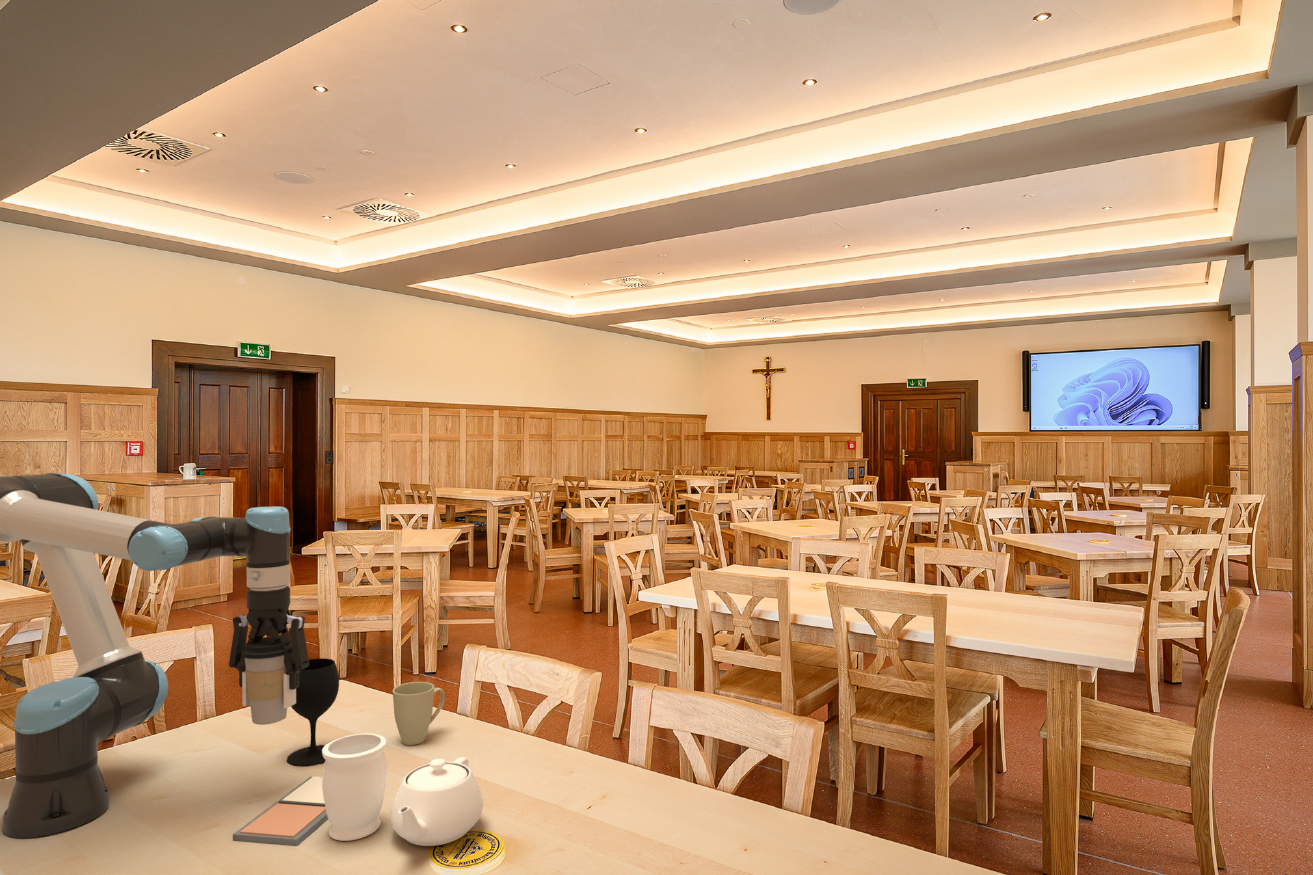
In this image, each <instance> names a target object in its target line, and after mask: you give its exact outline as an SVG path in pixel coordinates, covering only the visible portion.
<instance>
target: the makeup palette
mask: <svg viewBox="0 0 1313 875" xmlns="http://www.w3.org/2000/svg"><path fill="white" fill-rule="evenodd" d="M322 777H323V776H309V777H308V778H306V779H304V781H302V782H301V783H300V784H298V785H297V786H296V787H294V788H293V789H291V790H290V791H289V792H287V793H286V794H285V795H284V796H282V797H281V798H279V799H278V800H277V801H275V802H274V803H273V804H271V805H270V806H269V807H268V808H266V809H264V810H263V811H262V812H261V813H260V814H258V815H257V816H255V817H254V818H253V819H251V820H250V821H249V822H247V823H245V825H243V826H242V827H240V828H239V829H238V830H237V831H235V832H234V833H232V841H239V842H250V843H262V844H275V845H287V846H297V847H298V845H300V844H301V843H302V842H304V841H305V840H306V838H308V837H309V836H310V835H311V834H312V833H313V832H314V831H316V830H317V829H318V828H319V827H321V825H322V824H324V823H325V822H326V821H327V820H329V819H328V817H327V813H326V809H325V801H324V797H323V790H322Z"/></svg>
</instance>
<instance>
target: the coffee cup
mask: <svg viewBox="0 0 1313 875" xmlns="http://www.w3.org/2000/svg"><path fill="white" fill-rule="evenodd" d="M289 638H290V640H291V637H289ZM291 643H292V640H291ZM289 644H290V641H288V642H286V643H284V645H286V646H287V645H289ZM286 652H287V653H288V654H289V653H292V652H293V647H291V648H288V649H286V650H283V644H278V645H277V644H276V642H275V641H273V639H272V637H269V636H264V637H263V638H262V640H261V641H258V642H256V643H253V644H251V643H247V642H246V645H245V648H244V649H243V650H242V654H241V656H242V657H243V658H245V665H246V668H245V673H246V681H247V690H248V697H249V699H250V704H249V707H250V713H251V721H252V723H253V724H254V725H260V726H263V725H271V724H276V723H279V722H281V721H283V720H285V719H286V718H287V711H288V708H284V681H283V674H285V673H286V672H287V669H286V667H285V664H284V655H286Z"/></svg>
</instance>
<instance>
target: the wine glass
mask: <svg viewBox="0 0 1313 875" xmlns="http://www.w3.org/2000/svg"><path fill="white" fill-rule="evenodd" d="M339 690H340V677H339V671H338V667H337V664H336V661H335V660H334V659H330V658H311V659H309V666H308V667H306V668H304V669H302V670H300V672H299V687H298V688H296V704H294V705H292V706H290V707H291V709H292V710H293V711H294V712H295V713H296V714H298V715H299V716H301V717H302V718H304V719H306V720H308V722H309V726H310V727H309V728H310V744H309V746H306V747H302V748H299V749H297V750H295V751H293V752H291V753H290V754H288V755H287V757H286V763H287V764H289V765H290V766H293V767H303V768H304V767H315V766H318V765H322V764H325V761H326V760H325V759H324V757H323V755H322V749H323V747H324V746H325V745H326V744H317V740H316V738H317V737H316V733H317V732H316V730H317V722H318V719H319V718H320V717H321V716H323V715H324V714H325V713H326V712H328V710H329V709H330V708H331V707H332V706H333V704H334V703H335V701H336V699H337V697H338V693H339Z"/></svg>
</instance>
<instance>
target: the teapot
mask: <svg viewBox="0 0 1313 875" xmlns="http://www.w3.org/2000/svg"><path fill="white" fill-rule="evenodd" d="M469 763H470V762H469V759H468V758H467V757H465V756H460V757H458V758H457V759H455V760H454V761H447V760H446V759H445V758H434V759H432V760H431V761H429V763H426V764H423V765H420V766H417V767H415V768H414V769H412V770H410V771H409V772H408V773H407V774H406V775H405V776H404V777H403V779H402V781H401V783H400V786H399V787H398V790H397V793H396V795H395V798H394V800H393V802H392V805H391V806H392V807H391V810H390V823H391V826H392V828H393V831H394V832H395V833H396V834H397V835H398V836H399V837H400V838H403V839H404V840H406V841H407V842H408V843H410V844H413V845H416V846H424V847H432V846H433V847H435V846H441V845H445V844H449V843H452V842H454V841H457V840H458V839H461V838H462V837H463V836H465V835H466V834H467V833H469V831H470V830H471V829H472V828H473V827H474V826H475V825H476V824H477V822H478V821H479V819H480V818H481V815H482V814H483V809H484V800H483V795H482V791H481V789H480V785H479V784H478V781H477V778H476V777H475V776H474V773H473V771H472V770H471V769H470V768H469Z"/></svg>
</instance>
